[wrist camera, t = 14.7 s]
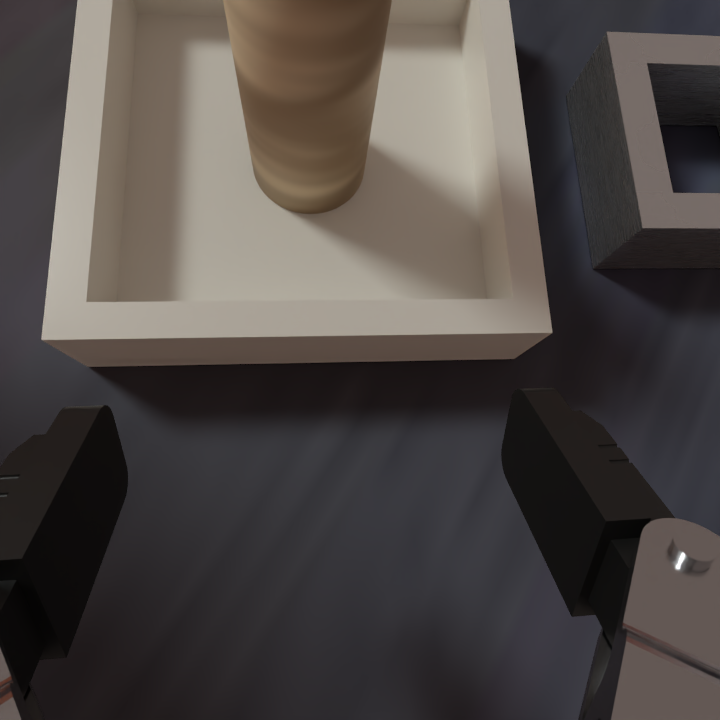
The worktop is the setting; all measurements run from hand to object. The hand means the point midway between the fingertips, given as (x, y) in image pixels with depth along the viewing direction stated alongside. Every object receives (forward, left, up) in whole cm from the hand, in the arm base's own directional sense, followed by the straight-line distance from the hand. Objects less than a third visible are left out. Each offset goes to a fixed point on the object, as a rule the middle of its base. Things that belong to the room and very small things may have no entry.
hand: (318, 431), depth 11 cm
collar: (+20, 0, -9) cm, 22 cm away
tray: (+6, +10, -9) cm, 15 cm away
